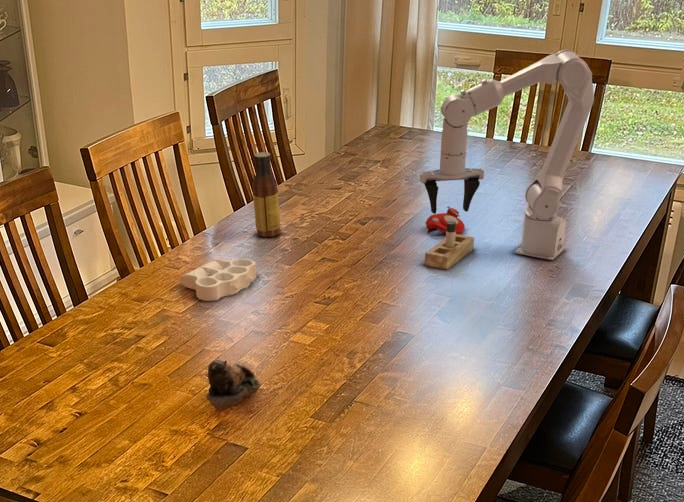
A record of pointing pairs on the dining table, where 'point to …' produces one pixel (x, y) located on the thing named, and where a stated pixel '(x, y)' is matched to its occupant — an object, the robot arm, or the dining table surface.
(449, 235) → the marker
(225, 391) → the bison figurine
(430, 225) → the red curved piece
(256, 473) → the dining table surface
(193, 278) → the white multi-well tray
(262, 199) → the sauce bottle
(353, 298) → the dining table surface
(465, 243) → the pen block
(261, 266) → the dining table surface
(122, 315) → the dining table surface
